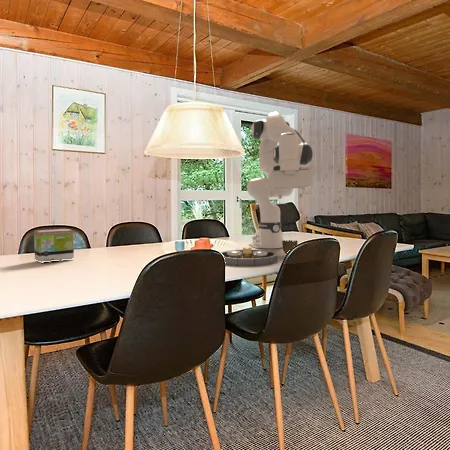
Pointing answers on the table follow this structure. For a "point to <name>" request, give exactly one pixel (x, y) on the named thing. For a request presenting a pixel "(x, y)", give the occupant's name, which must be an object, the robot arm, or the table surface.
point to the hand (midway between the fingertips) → (290, 198)
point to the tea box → (53, 244)
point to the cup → (288, 245)
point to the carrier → (249, 257)
